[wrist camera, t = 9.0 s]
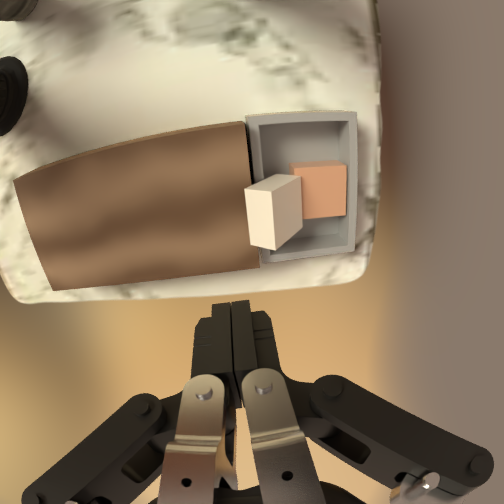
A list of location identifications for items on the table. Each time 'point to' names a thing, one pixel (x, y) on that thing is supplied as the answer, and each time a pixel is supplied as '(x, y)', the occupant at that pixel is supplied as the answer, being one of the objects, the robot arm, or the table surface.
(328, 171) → the terracotta tile
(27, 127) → the table surface
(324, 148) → the box
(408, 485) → the robot arm
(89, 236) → the walnut platform
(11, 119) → the handle grip
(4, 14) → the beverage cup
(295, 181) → the cream tile
